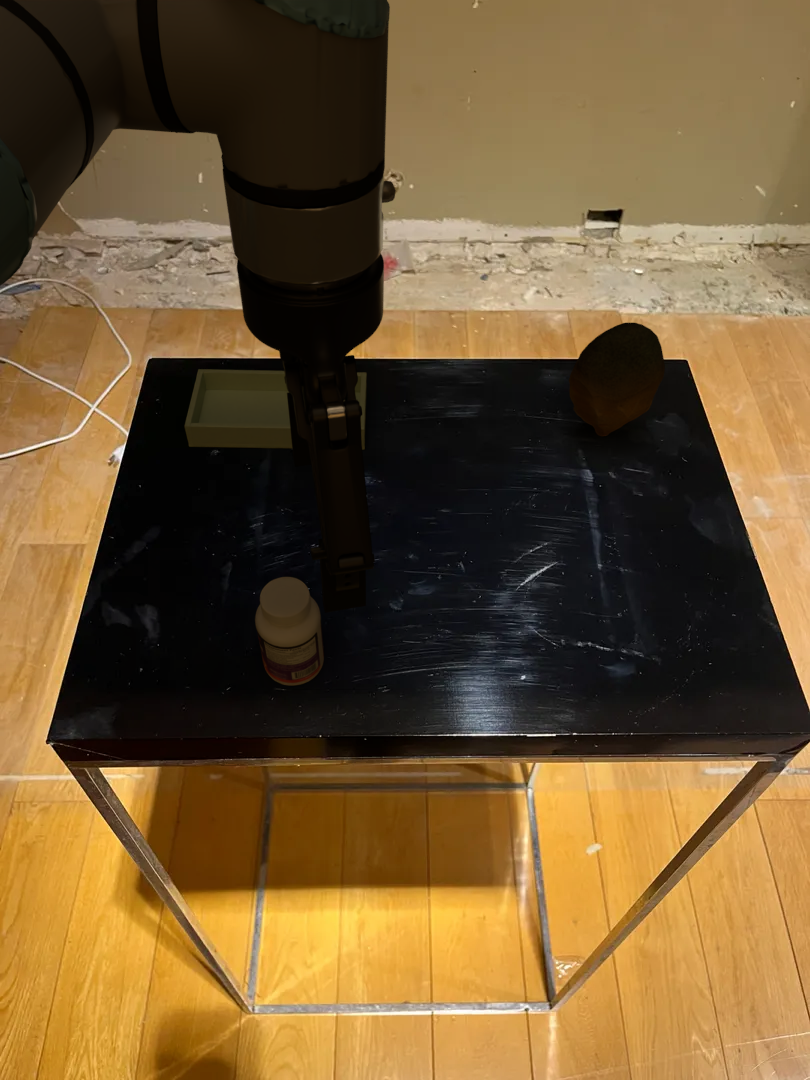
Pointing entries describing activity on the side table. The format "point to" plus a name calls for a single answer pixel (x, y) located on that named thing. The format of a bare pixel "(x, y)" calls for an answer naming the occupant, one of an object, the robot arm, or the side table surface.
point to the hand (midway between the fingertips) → (327, 528)
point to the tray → (246, 409)
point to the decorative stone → (617, 377)
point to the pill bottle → (289, 632)
